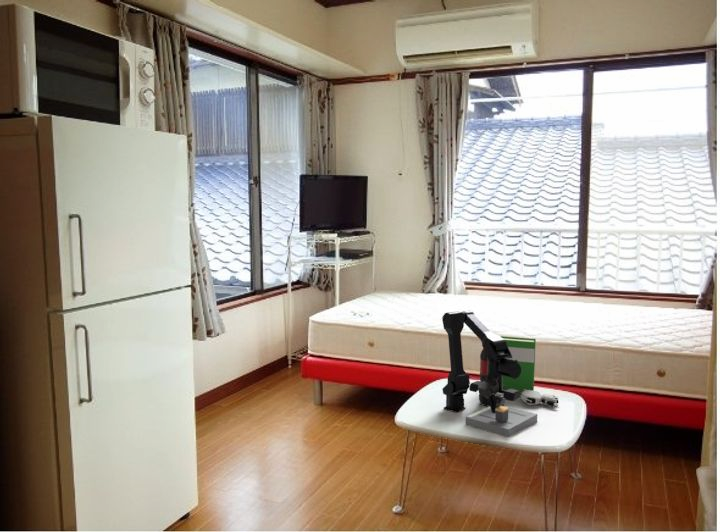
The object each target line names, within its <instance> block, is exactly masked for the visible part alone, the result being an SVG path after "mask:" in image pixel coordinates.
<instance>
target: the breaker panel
mask: <svg viewBox="0 0 720 532" xmlns="http://www.w3.org/2000/svg"><path fill="white" fill-rule="evenodd" d="M504 407H508V408H509V410H508V420H506V421H504V422H499V421H496V420H495V415H496V413H492V410H491V407H490V406H486V407H485V408H484V407H483V408H482V409H479V410H478V411H476V412H474V413H471V414H469V415H467V416H465V420H464V421H465V422H464V423H465V426H468V427H472V428H475V429H479V430H482V431H485V432H488V433H491V434H495V435H498V436H502V437H505V438H510V437H512V436H514V435H515V434H518V433H519V432H521V431H523V430H525V429H527V428H529V427H530V426H532V425H535V423H537V422H538V413H534V412H531V411H528V410H523V409H520V408H519V409H518V408H516V407H511V406H507V405H504Z"/></svg>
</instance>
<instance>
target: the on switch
mask: <svg viewBox="0 0 720 532" xmlns="http://www.w3.org/2000/svg"><path fill="white" fill-rule="evenodd" d="M500 406H505V398H503V400H502V401H501V403H500V405H499V407H500Z"/></svg>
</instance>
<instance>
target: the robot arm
mask: <svg viewBox="0 0 720 532" xmlns="http://www.w3.org/2000/svg"><path fill="white" fill-rule="evenodd" d="M441 319H442V326H443V330H445V331H444V332H446V333H447V338H448V349H449V360H450V361H449V362H450V363H449V365H450V372H449V374H448V375H447V383H446V384H445V385H444V387H442V394H443V395H445V396H446V397H445V399H446V400H445V406H443V409H444V410H447V411H450V412H455V413H458V412H460V411H463V410H465V409H466V406H465V398H464V395H466V394H467V393H468V389H469V391H470V392H473V393H477V392H478V395H479V394H480V395H483V396H485V397H486V398H487V399H488V402H489V404H490V407H491V410H492V413H496V410H495V408H498V407H499V405H500V403H501V401H502V400H503V398H505V400H506V401H510V402H515V401H517V400H519V399H521V393H520V391H519V390H515V389H509V390H503V388H504V385H503V378H504V377H505V376H507V377H510V378H513V379H516V378H518V377H519V376H520V374H521V366H520V365H519V364H518V363H517V360H516V359H511V358H512V355H511V352H510V351H509V349H508V346H507V343H506V341H505V340H504V339H503V338H501V337H500V336H501V335H498V334H496V333H495V334H494V332H492V331H490V329H489V328H488V327H487V326H486V325H485V324H484V323H482V321H481V320H480V319H479V318H478V317H477V316H476V315H475V313H474V312H473V311H472V310H467V311H466V310H465V311H464V310H463V311H450V312H444V314H443V315H442V317H441ZM464 326H467V327H468V328H469V329H470V331H472V333H473V334H474V335H475V336H476V337H477V338H478V339H479V341H480V342H481V346H482V349H483V348H484V349H485V351H486V352H487V354H486V355H485V356H484V358H486V359H488V365H487V375H485V380H484V381H483V382H481V381H480V380H476V381H474V382H470V374H469V373H467V372H466V371H465V369H464V361H463V350H462V347H463V345H462V333H463V329H464ZM502 353H504V354H502ZM496 354H501V355H496ZM498 391H499V392H498ZM505 400H504V401H505Z"/></svg>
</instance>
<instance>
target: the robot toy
mask: <svg viewBox="0 0 720 532" xmlns="http://www.w3.org/2000/svg"><path fill="white" fill-rule="evenodd" d="M524 390H525V391H523V392H522V393H521V398H520V399H521V400H522V402H524V403H526V404H527V405H528V406H534V405H539V404H542V405H544V406H547V407H558V406H559V397H558V396H555V395H554V394H546V393H543V394H541V393H540V392H539V391H536V390H534V391H532V390H526V389H524Z"/></svg>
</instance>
